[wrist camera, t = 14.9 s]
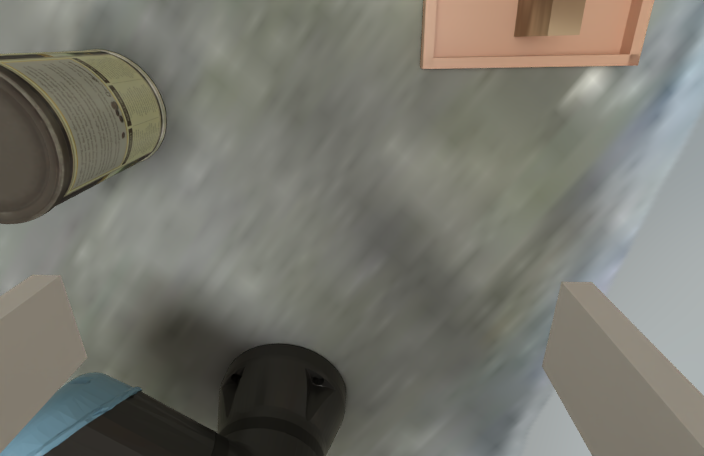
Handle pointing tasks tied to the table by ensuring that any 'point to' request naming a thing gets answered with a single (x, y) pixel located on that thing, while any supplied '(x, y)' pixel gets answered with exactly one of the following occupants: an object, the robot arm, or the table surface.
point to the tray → (530, 51)
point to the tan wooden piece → (549, 17)
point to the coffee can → (70, 126)
